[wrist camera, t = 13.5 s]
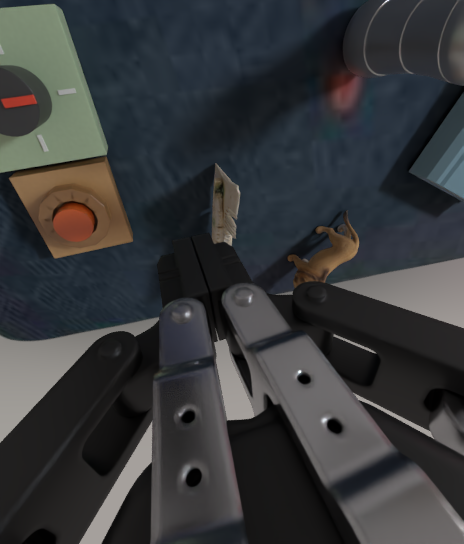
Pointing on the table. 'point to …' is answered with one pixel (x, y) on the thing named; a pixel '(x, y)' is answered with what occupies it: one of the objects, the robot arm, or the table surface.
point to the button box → (74, 189)
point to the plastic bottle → (407, 39)
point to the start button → (74, 222)
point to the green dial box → (49, 90)
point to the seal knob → (22, 101)
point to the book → (445, 155)
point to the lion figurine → (327, 254)
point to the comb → (224, 207)
